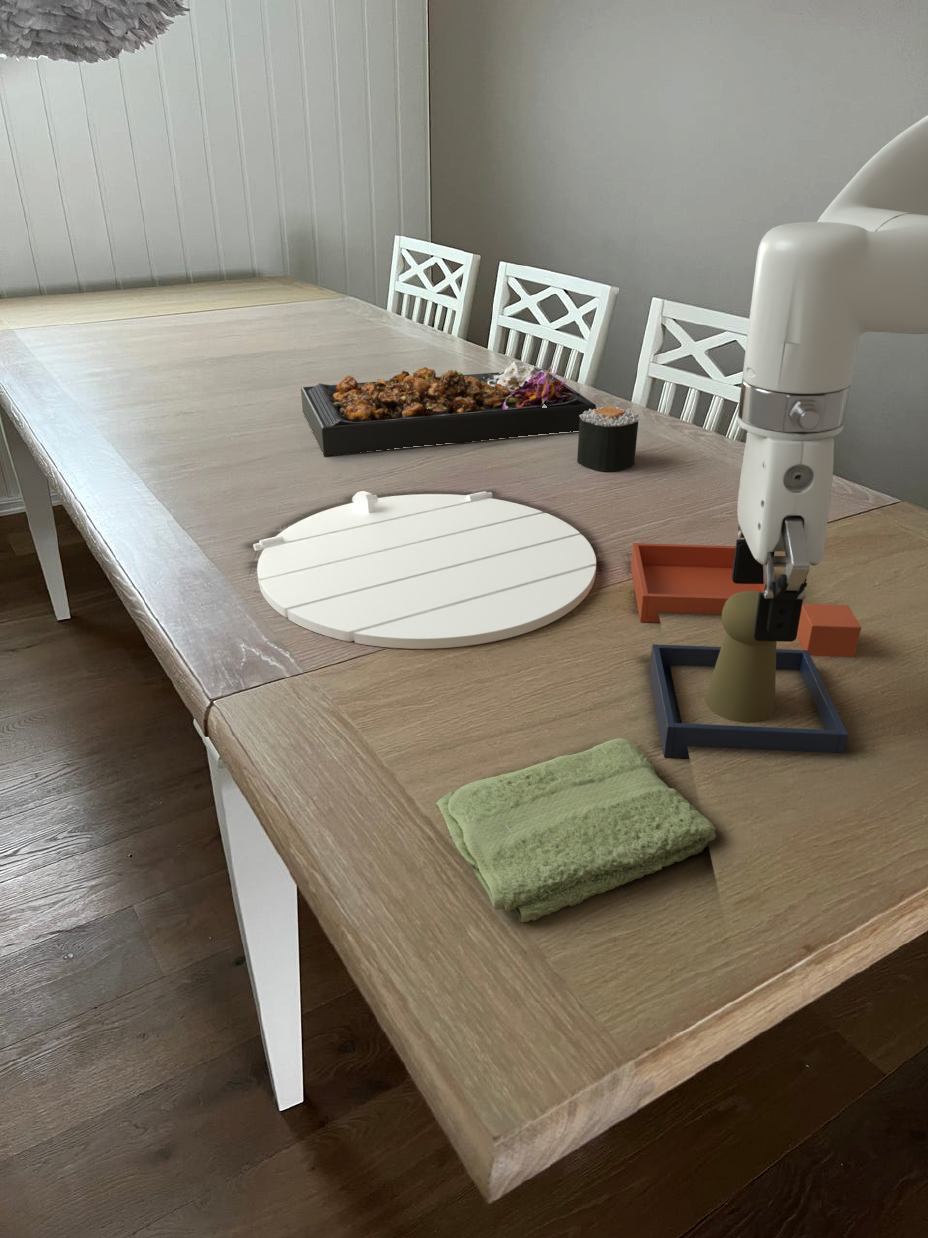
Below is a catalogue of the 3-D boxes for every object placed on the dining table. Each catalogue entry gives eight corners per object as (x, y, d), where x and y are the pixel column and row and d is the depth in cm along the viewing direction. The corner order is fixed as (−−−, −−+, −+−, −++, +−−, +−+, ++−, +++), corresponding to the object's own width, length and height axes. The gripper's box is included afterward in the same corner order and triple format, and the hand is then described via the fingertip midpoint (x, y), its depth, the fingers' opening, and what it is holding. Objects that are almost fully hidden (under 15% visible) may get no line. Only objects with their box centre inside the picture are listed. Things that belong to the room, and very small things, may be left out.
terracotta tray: (754, 571, 107) (758, 546, 105) (779, 627, 95) (784, 600, 94) (630, 567, 108) (632, 542, 106) (640, 622, 96) (642, 595, 95)
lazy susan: (211, 538, 115) (208, 512, 114) (479, 481, 133) (479, 458, 131) (342, 689, 85) (340, 657, 83) (667, 590, 102) (670, 561, 101)
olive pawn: (764, 737, 77) (786, 622, 72) (694, 717, 80) (710, 604, 75) (781, 702, 82) (803, 591, 77) (714, 683, 85) (730, 576, 79)
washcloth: (427, 814, 70) (426, 781, 68) (626, 757, 76) (630, 724, 75) (501, 939, 59) (502, 902, 58) (726, 860, 66) (732, 826, 64)
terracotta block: (839, 644, 92) (848, 604, 90) (852, 668, 88) (861, 627, 86) (792, 642, 92) (800, 603, 90) (803, 666, 88) (812, 625, 86)
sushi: (567, 461, 140) (570, 409, 136) (604, 450, 144) (608, 399, 141) (607, 475, 134) (612, 422, 130) (644, 463, 139) (649, 411, 135)
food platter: (542, 392, 174) (544, 336, 169) (594, 430, 153) (598, 368, 148) (302, 412, 163) (297, 353, 158) (324, 456, 142) (318, 389, 137)
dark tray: (802, 678, 86) (808, 649, 85) (840, 765, 75) (848, 734, 73) (648, 672, 88) (651, 644, 86) (663, 757, 76) (667, 726, 75)
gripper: (881, 444, 60) (836, 666, 69) (815, 374, 75) (784, 564, 84) (763, 444, 61) (733, 664, 69) (721, 375, 76) (700, 563, 84)
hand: (761, 609), depth 76 cm, fingers open, 9 cm apart
